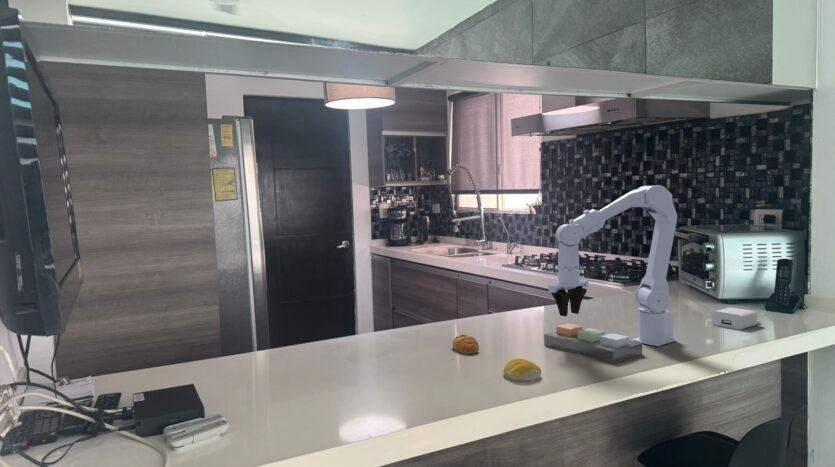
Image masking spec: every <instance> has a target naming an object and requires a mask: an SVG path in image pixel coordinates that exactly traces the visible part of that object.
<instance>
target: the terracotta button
mask: <svg viewBox="0 0 835 467" xmlns="http://www.w3.org/2000/svg"><path fill="white" fill-rule="evenodd" d="M580 330H583V326H582V325H576V324H572V323H565V324H560V325H557V326H556V331H557V334H561V335H565V336H569V337H572V336H576V335H578V331H580Z"/></svg>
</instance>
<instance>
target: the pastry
mask: <svg viewBox="0 0 835 467" xmlns="http://www.w3.org/2000/svg"><path fill="white" fill-rule="evenodd" d="M452 348H453V349H454V350H455V352H456V351H457V352H458V353H461V354H463V355H465V354H466V355H469V354H475V353H478V352H479V351H480V345H479V342H478V341H477V339H476V338H474V337H473V336H471V335H468V334H465V333H464V334H460V335H457V336H455V337H454V339H453V341H452Z"/></svg>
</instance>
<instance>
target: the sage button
mask: <svg viewBox="0 0 835 467" xmlns="http://www.w3.org/2000/svg"><path fill="white" fill-rule="evenodd" d="M605 332H606V331H604V330H599V329H595V328H591V327H590V328H589V327H588V328H584V329H582V330H580V331H578V339H581V340H585V341H589V342H596V341H600V336H604V335H606V333H605Z"/></svg>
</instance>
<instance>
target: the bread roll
mask: <svg viewBox="0 0 835 467" xmlns="http://www.w3.org/2000/svg"><path fill="white" fill-rule="evenodd" d="M502 372H503V376H504V377H505V378H507V379H510V380H511V381H514V382H521V383H523V382H524V383H527V382H534V381H537V380H539V379H540V377H541V375H542V370H541V367H540V366H539V365H537V364H536V363H534V362H532V361H529V360H528V359H525V358H514V359H513V358H512V359H511V360H509V361H507V362H506V363H505V365H504V367H503V370H502Z"/></svg>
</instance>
